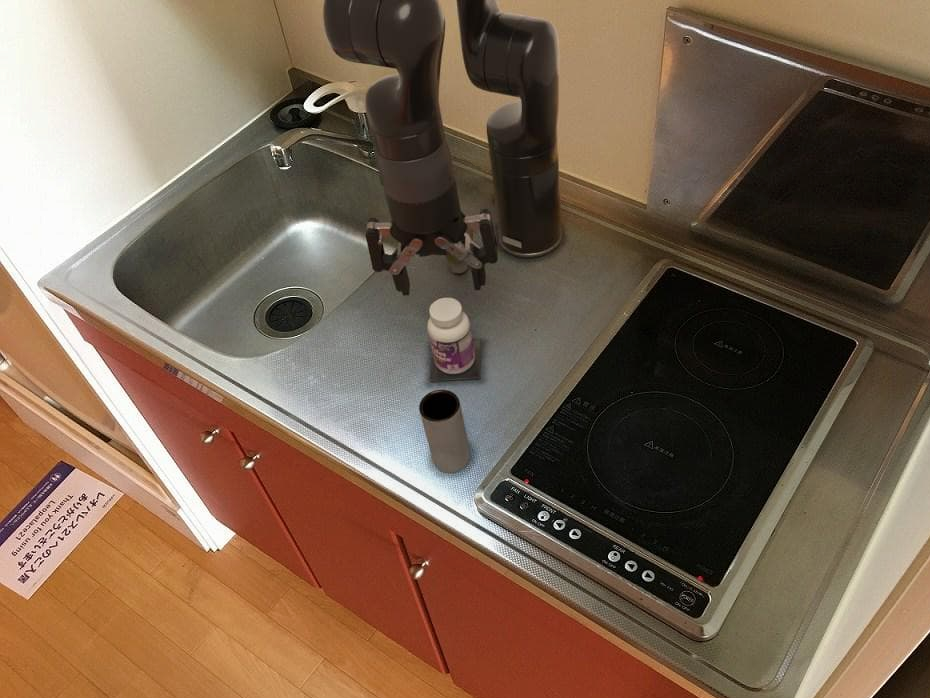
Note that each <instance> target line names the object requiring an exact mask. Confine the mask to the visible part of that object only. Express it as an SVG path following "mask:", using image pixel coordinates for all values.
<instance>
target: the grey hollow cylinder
mask: <svg viewBox="0 0 930 698" xmlns="http://www.w3.org/2000/svg"><path fill="white" fill-rule="evenodd" d="M418 411H419V415H420V419H421V422H422V426H423V429H424V433H425V436H426V441H427V444H428V447H429V452H430V455H431V459H432V461H433V464H434V467H436V469H438V470H439V471H440V472H443V473H445V474H455V473H458V472H461V471H463V470H464V469H465V468H466V467H467V466H468V464H469V463H470V460H471V455H472V454H471V447H470V445H469V439H468V435H467V430H466V426H465V425H466V424H465V419H464V415H463V412H462V411H463V410H462V405H461V402H460V398H459V396H458V395H457V394H456V393H455V392H453V391H451V390H449V389H435V390H432V391H430V392H428V393H427V394H425V395H424V396H423V397H422V398H421V401H419V405H418Z"/></svg>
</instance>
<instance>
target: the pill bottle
mask: <svg viewBox="0 0 930 698" xmlns="http://www.w3.org/2000/svg"><path fill="white" fill-rule="evenodd" d="M428 311H429V312H428V313H429V318H428V321H427V325H426V327H427V335H428V337H429V338H428V339H429V342H430V347H431V352H432V351H433V356H434V360H435V363H436V366H437V367H438V368H439V369H440V370H441V371H443V372H445V373H448V374H458V373H462V372H464V371H466V370H467V369H469V368H470V367H471V366H472V364H473V362H474V360H475V352H474V346H473V341H474V340H473V334H472V327H471V321H470V318H469V317H468V315H467V314H466V313H465V312H464V311H463V307H462V304H461V303H460V302H459V300H457V299H455V298H453V297H442V298H439V299H436V300H434V302H432V303H431V305H430V306H429V310H428Z"/></svg>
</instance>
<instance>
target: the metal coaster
mask: <svg viewBox="0 0 930 698" xmlns="http://www.w3.org/2000/svg"><path fill="white" fill-rule="evenodd" d="M473 346H474V352H475V360H474V362H473V364H472V366H471V367H470V368H469V369H467V370H466V371H464V372H462V373H458V374H448V373H445V372H443V371H441V370H440V369H439V368H438V367H437V366H436V363H435V360H434V356H433V351H432V350H431V353H430V354H431V355H430V370H429V383H445V382H461V381H478V380H481V368H482V367H481V365H482V364H481V361H482V359H481V358H482V357H481V356H482V354H481V353H482V340H481V339H477V340H476V339H475V340H473Z"/></svg>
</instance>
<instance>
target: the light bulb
mask: <svg viewBox="0 0 930 698" xmlns="http://www.w3.org/2000/svg"><path fill="white" fill-rule="evenodd" d="M466 233H467V234H468V235H469V236H470V238H471V240H472V241H473V239H474V231H473V230H472V229H470V228H467V230H466ZM457 244H458V243H457ZM444 256H445V258H446V260H447V261H448V262H449V267H450V270H451V272H453V273H454V274H462V273H464V272H466V271H467V270H468V266H469V265H468V263H467V262H465V261H464V260H462V261H460V260H458V259H457V258H456V257H454V256H453V255H452V254H451V253H449V252H448V253H447V255H444Z"/></svg>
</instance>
